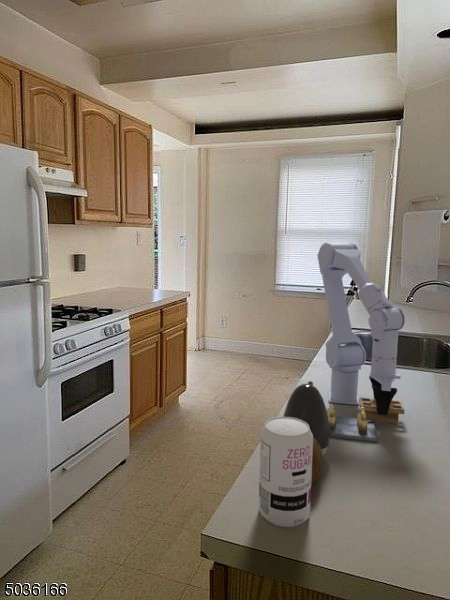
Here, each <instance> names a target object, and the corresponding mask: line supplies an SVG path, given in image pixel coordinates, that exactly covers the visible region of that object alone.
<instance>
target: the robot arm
mask: <svg viewBox="0 0 450 600" xmlns="http://www.w3.org/2000/svg"><path fill="white" fill-rule="evenodd" d="M317 261H318V268H319V272H320V274H321V277H322V283H323V288H324V295H325V300H326V305H327V311H328V316H329V320H330V327H331V334H332V336H331V337H330V338H329V339H328V340H327V341H326V342H325V350H326V351H325V361H326V363H327V365H328V367H329V369H331V374H330V375H331V377H330V379H331V380H330V389H329V390H328V402H329V403H330V404H342V405H354V406H360V404H359V395H358V394H359V393H358V386H359V384H358V383H359V371H360V370H362V369H361V368H362V366H363V365H364V364H365V363H366V360H367V353H366V349H365V347H364V346H363V343H362V340H361V338H360V337H359V336H358V335H356V334H355V333H354V332H353V331H352V330H353V329H352V324H351V319H350V313H349V309H348V303H347V299H346V293H345V288H344V283H343V278H344V276H346V275H347V274H348V276H349V277H350V278H351V280H352V281H353V282H354V284H355V285H356V286H357V288H358V295H357V296H358V298H359V300H360V302H361V303H362V305H363V307H364V308H365V310H366V312H367V313H368V315H369V318H368V320H367V321H368V325H369V327H370V336H371V338H372V349H371V364H370V365H371V366H370V372H369V376H368V378H369V381H370V383H371V389H372V392H373V399H376V406H377V412H378V414H380V415H387V413H388V410H389V407H390V404H391V401H393V399H394V397H395V396H396V394H397V393H398V389H397V388H396V387H392V384H393V382H394V381H395V380H398V379H399V380H400V379H401V374H400V373H396V371H397V356H398V344H399V343H398V342H399V331H400V330H402V329H403V328H404V326H405V323H406V320H405V319H406V318H405V314H404V313H403V310H402V308H400V307H398V306H395V305H394V304H392V303H391V302H390V300H389V298H388V297H387V295H386V294H385V292H384V291H383V288H382V287H381V285H379V284H378V283H374V282H372V280H371V278H370V277H369V274H368V273H367V271H366V269H365V267H364V265H363V262H362V261H361V251H360V250H359V248H358V246H357V244H355V243H353V242H347V243H345V242H344V243H343V242H341V243H340V242H337V243H336V242H333V243H332V242H324V243H322V244H321V245H320V247H319V250H318V253H317Z"/></svg>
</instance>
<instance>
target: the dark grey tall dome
mask: <svg viewBox="0 0 450 600" xmlns="http://www.w3.org/2000/svg"><path fill="white" fill-rule="evenodd" d="M327 411H328V410H327V407H326V403H325V401H324V398H323V396H322V394H321V392H320V391H319V390H318V388H317V387H316V386H314V382H313V381H312V380H311V381H308V382H307V383H302V384H299V385H298V386H296V387H295V388H294V390H293V391H292V392H291V394H290V397H289V398H288V401H287V404H286V405H285V408H284V412H283V415H282V417H292V418H297V419H300V420H302V421H304V422H306V423H307V424H308V425H309V428H310V430H311V432H312V434H313V437H314V438H315V439H316V440H317V442H318V443H319V445H320V447H321V449H322V455H323V456H324V455H325V454H326V453H327V451H328V447H329V446H330V444H331V438H332V437H330V426H329V420H328V415H327Z"/></svg>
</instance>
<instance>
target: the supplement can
mask: <svg viewBox="0 0 450 600" xmlns="http://www.w3.org/2000/svg"><path fill="white" fill-rule="evenodd" d="M259 450H260V453H259V492H258V493H259V495H258V496H259V498H258V509H259V512H260V515H261V516H263V518H264V519H265V520H267V521H268V522H269V523H270V524H272V525H274V526H277V527H281V528H282V527H283V528H294V527H298V526H299V525H301V524H303V523H304V522H306V521H307V520H308V519H309V517H310V515H311V498H312V497H311V496H312V495H311V494H312V485H311V477H312V453H313V434H312V432H311V430H310V428H309V425H308V424H307V423H306V422H304V421H302V420H300V419H297V418H292V417H283V416H276V417H273V418H269V419H268V420H267V421H265V422H264V425H263V427H262V430H261V432H260V448H259Z"/></svg>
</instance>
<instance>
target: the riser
mask: <svg viewBox="0 0 450 600" xmlns="http://www.w3.org/2000/svg"><path fill="white" fill-rule="evenodd" d="M364 412H366V415H367V416H366V419H367V420H373V421H374V422H381V423H388V424H389V423H390V424H399V418H400V417H399V415H400V414H396V413H387V415H380V414H378V412H375V411H364Z"/></svg>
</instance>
